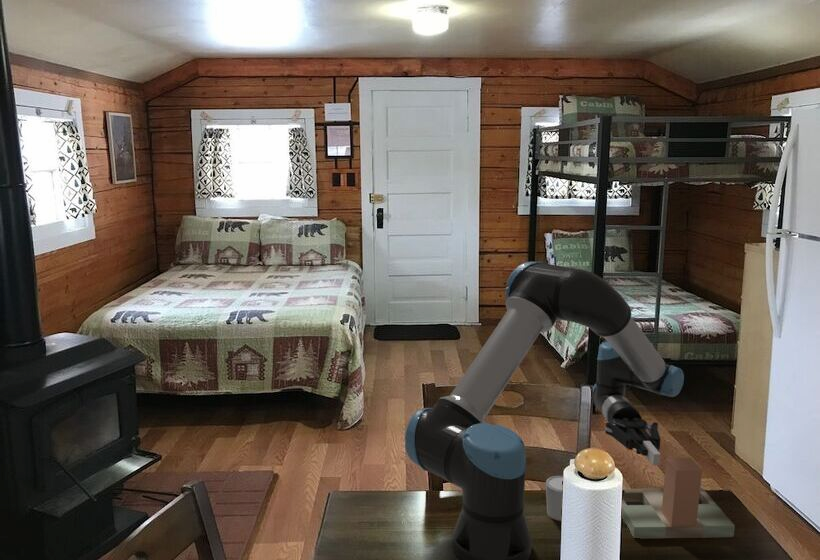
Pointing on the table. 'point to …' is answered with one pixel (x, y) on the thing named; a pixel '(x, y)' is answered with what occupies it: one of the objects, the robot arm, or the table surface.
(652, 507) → the board
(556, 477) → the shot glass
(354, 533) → the table surface
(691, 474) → the block
